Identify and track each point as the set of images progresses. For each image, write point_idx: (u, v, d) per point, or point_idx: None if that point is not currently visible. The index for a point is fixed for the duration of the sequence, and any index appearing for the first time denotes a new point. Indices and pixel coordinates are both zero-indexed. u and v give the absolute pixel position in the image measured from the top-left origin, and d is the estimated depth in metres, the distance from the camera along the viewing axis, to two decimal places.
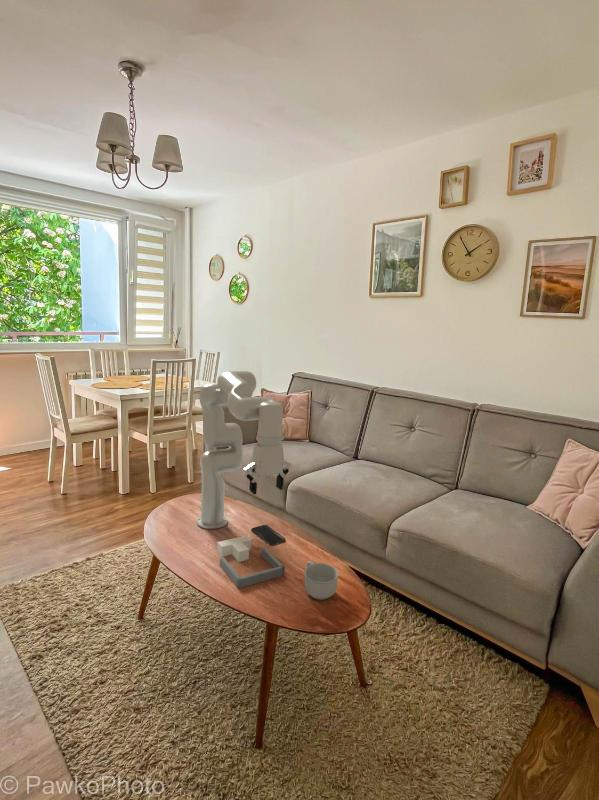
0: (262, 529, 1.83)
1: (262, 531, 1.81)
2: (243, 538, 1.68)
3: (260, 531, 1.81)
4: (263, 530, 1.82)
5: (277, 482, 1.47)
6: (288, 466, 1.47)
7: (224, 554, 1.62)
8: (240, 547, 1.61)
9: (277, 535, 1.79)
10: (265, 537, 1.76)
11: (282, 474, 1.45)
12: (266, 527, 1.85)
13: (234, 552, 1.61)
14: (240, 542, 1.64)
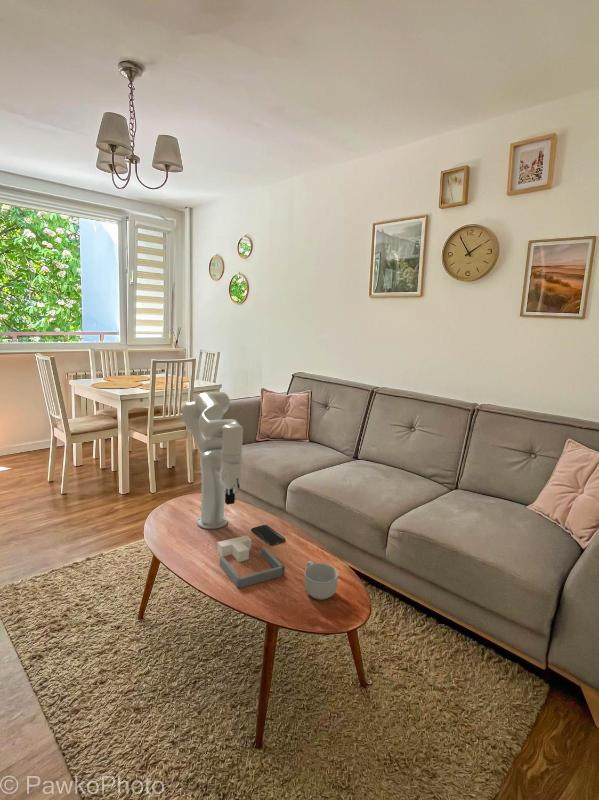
0: (261, 529, 1.83)
1: (262, 531, 1.81)
2: (243, 538, 1.68)
3: (260, 531, 1.81)
4: (263, 530, 1.82)
5: None
6: None
7: (224, 554, 1.62)
8: (240, 547, 1.61)
9: (277, 535, 1.79)
10: (265, 537, 1.76)
11: None
12: (266, 527, 1.85)
13: (234, 552, 1.61)
14: (240, 542, 1.64)
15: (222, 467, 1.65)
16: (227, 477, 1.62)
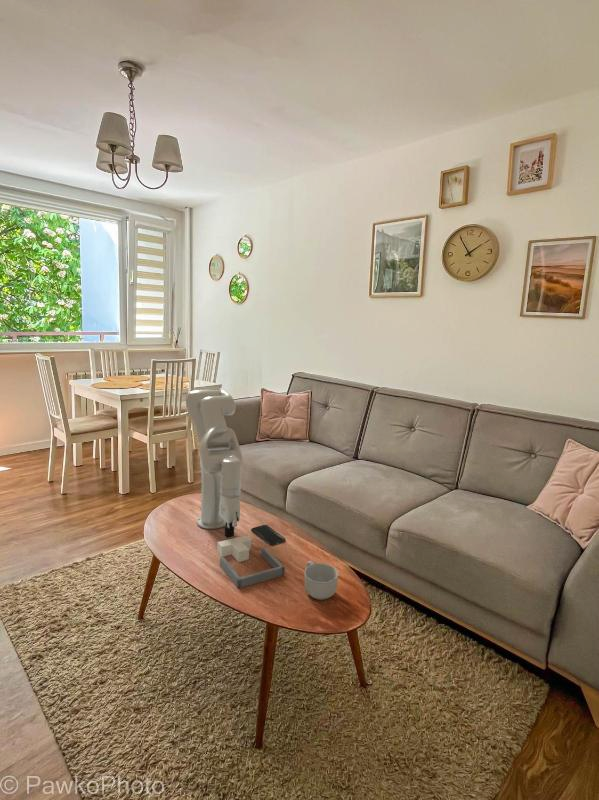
0: (261, 529, 1.83)
1: (262, 531, 1.81)
2: (243, 538, 1.68)
3: (260, 531, 1.81)
4: (263, 530, 1.82)
5: None
6: None
7: (224, 554, 1.62)
8: (240, 547, 1.61)
9: (277, 535, 1.79)
10: (265, 537, 1.76)
11: None
12: (266, 527, 1.85)
13: (234, 552, 1.61)
14: (240, 542, 1.64)
15: (221, 501, 1.67)
16: (226, 511, 1.64)
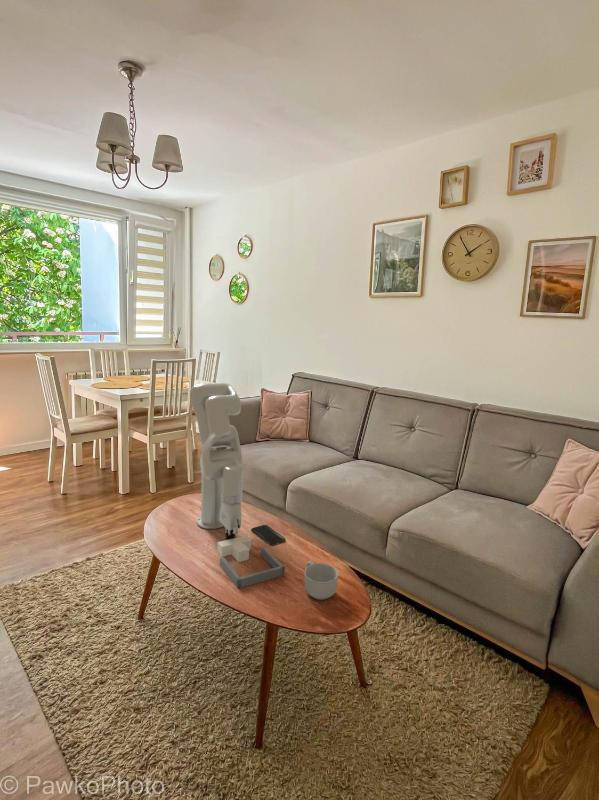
0: (261, 529, 1.83)
1: (262, 531, 1.81)
2: (243, 538, 1.68)
3: (260, 531, 1.81)
4: (263, 530, 1.82)
5: None
6: None
7: (224, 554, 1.62)
8: (240, 547, 1.61)
9: (277, 535, 1.79)
10: (265, 537, 1.76)
11: None
12: (266, 527, 1.85)
13: (234, 552, 1.61)
14: (240, 542, 1.64)
15: (222, 507, 1.67)
16: (227, 518, 1.63)
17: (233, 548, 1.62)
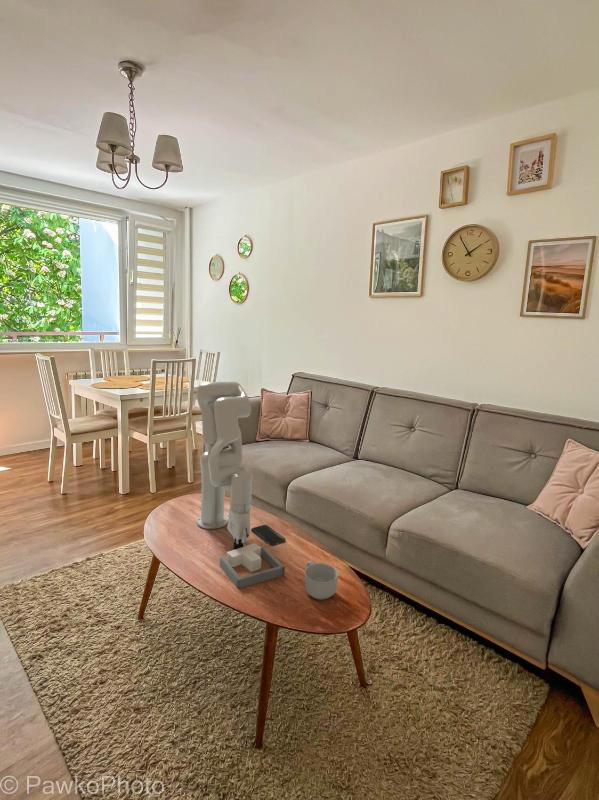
0: (261, 529, 1.83)
1: (262, 531, 1.81)
2: (252, 546, 1.62)
3: (260, 531, 1.81)
4: (263, 530, 1.82)
5: None
6: None
7: (235, 564, 1.55)
8: (252, 556, 1.55)
9: (277, 535, 1.79)
10: (265, 537, 1.76)
11: None
12: (266, 527, 1.85)
13: (245, 562, 1.55)
14: (250, 551, 1.59)
15: (230, 515, 1.61)
16: (236, 527, 1.57)
17: (244, 557, 1.56)
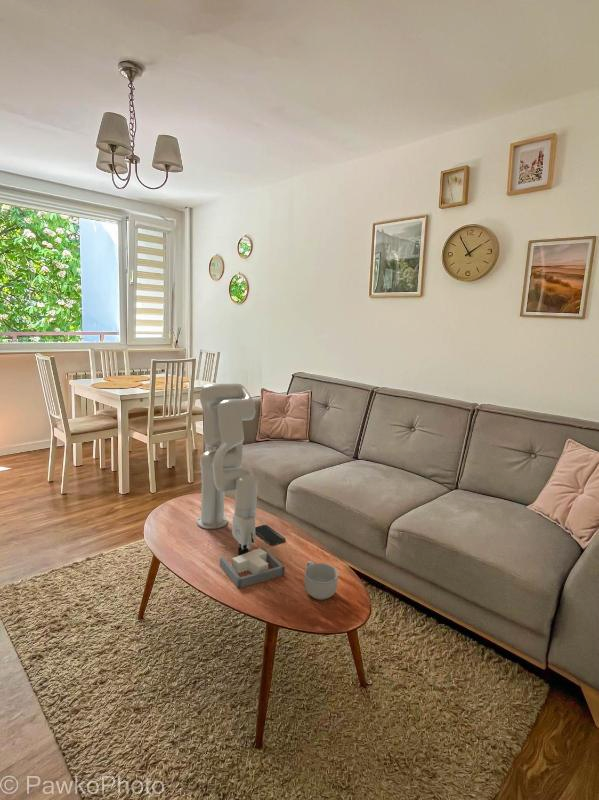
0: (261, 529, 1.83)
1: (262, 531, 1.81)
2: (257, 551, 1.59)
3: (260, 531, 1.81)
4: (263, 530, 1.82)
5: None
6: None
7: (241, 571, 1.52)
8: (258, 562, 1.52)
9: (277, 535, 1.79)
10: (265, 537, 1.76)
11: None
12: (266, 527, 1.85)
13: (252, 568, 1.52)
14: (256, 556, 1.55)
15: (235, 520, 1.57)
16: (241, 532, 1.54)
17: (250, 563, 1.52)
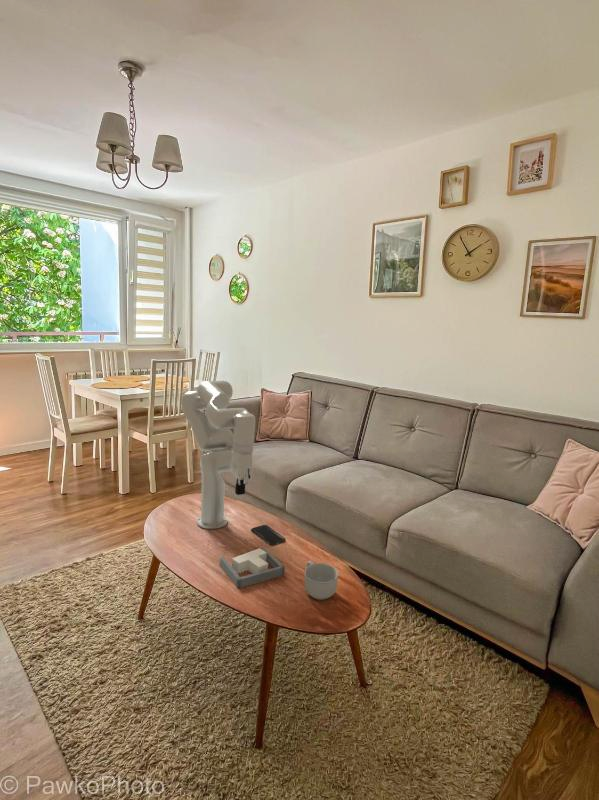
0: (261, 529, 1.83)
1: (262, 531, 1.81)
2: (257, 551, 1.59)
3: (260, 531, 1.81)
4: (263, 530, 1.82)
5: None
6: None
7: (241, 571, 1.52)
8: (258, 562, 1.52)
9: (277, 535, 1.79)
10: (265, 537, 1.76)
11: None
12: (266, 527, 1.85)
13: (252, 568, 1.52)
14: (256, 556, 1.55)
15: (233, 457, 1.62)
16: (238, 467, 1.58)
17: (250, 563, 1.52)
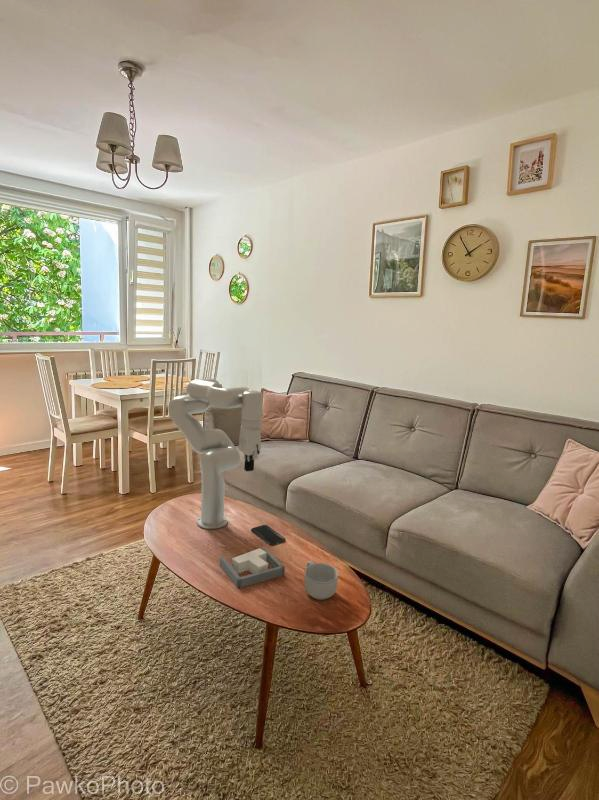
0: (261, 529, 1.83)
1: (262, 531, 1.81)
2: (257, 551, 1.59)
3: (260, 531, 1.81)
4: (263, 530, 1.82)
5: None
6: None
7: (241, 571, 1.52)
8: (258, 562, 1.52)
9: (277, 535, 1.79)
10: (265, 537, 1.76)
11: None
12: (266, 527, 1.85)
13: (252, 568, 1.52)
14: (256, 556, 1.55)
15: (242, 434, 1.66)
16: (247, 443, 1.63)
17: (250, 563, 1.52)
